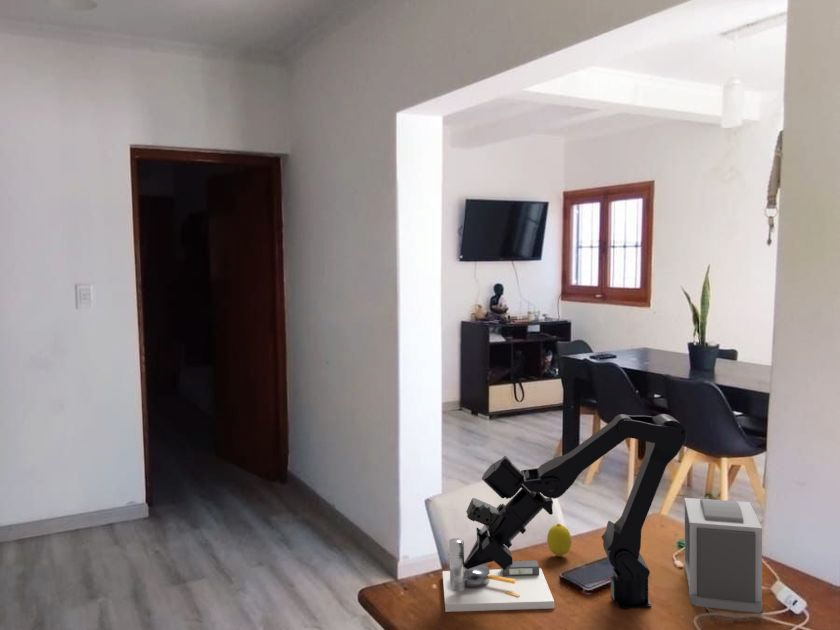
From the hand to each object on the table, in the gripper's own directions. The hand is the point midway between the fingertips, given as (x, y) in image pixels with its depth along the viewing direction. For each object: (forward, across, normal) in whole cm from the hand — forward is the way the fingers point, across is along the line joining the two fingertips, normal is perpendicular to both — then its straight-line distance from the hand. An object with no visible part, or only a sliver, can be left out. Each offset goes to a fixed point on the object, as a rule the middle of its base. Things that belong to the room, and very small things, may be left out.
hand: (465, 566), depth 140 cm
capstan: (+2, -3, +6) cm, 7 cm away
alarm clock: (-33, -3, +44) cm, 54 cm away
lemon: (-11, -20, +22) cm, 32 cm away
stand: (+1, -4, +10) cm, 11 cm away
